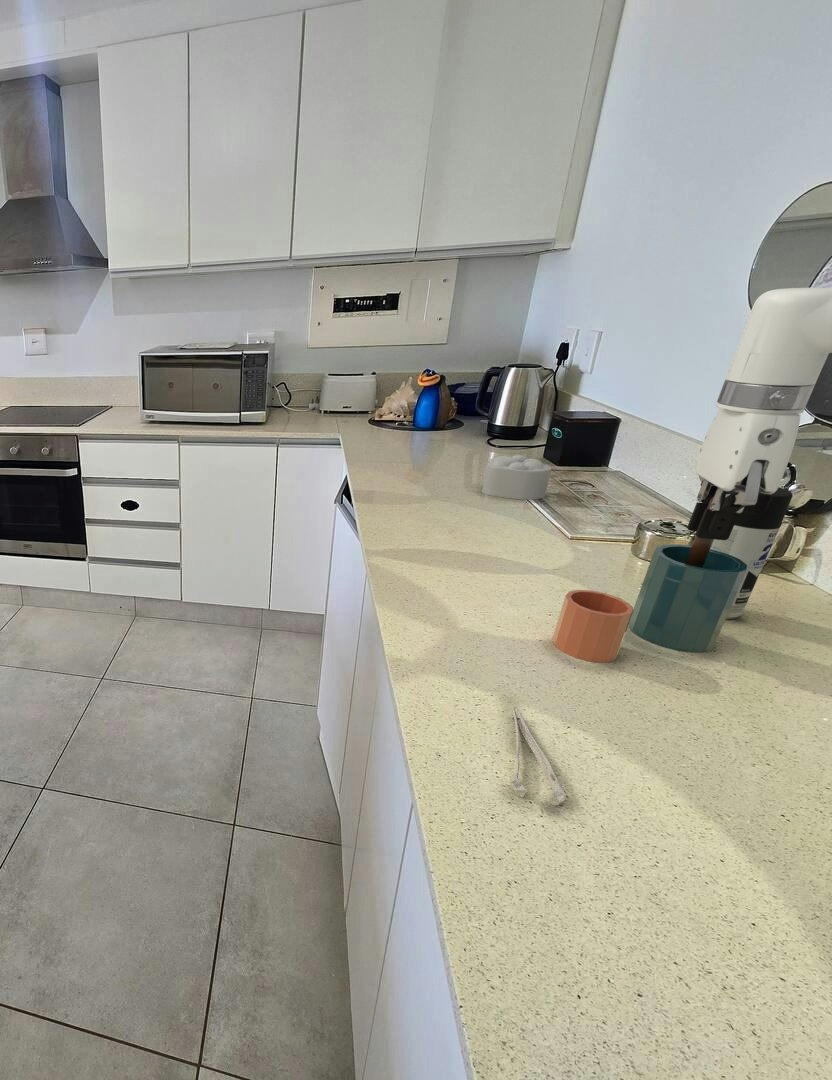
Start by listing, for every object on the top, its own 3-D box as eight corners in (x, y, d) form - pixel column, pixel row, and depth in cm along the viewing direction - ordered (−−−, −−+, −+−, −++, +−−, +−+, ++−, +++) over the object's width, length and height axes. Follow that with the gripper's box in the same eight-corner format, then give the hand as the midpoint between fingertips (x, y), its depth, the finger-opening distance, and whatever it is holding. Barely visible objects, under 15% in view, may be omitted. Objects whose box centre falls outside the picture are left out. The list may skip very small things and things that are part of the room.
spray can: (738, 625, 86) (795, 499, 79) (677, 609, 91) (725, 489, 83) (742, 609, 90) (797, 488, 83) (684, 594, 95) (730, 478, 87)
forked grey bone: (565, 809, 58) (570, 793, 57) (509, 795, 60) (513, 779, 59) (531, 711, 73) (534, 698, 72) (487, 703, 75) (490, 690, 74)
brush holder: (605, 642, 84) (622, 594, 81) (623, 670, 78) (641, 619, 75) (546, 633, 87) (560, 586, 84) (558, 660, 81) (574, 610, 77)
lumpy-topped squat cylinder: (484, 483, 151) (491, 451, 148) (544, 490, 144) (553, 456, 141) (480, 494, 143) (488, 460, 140) (544, 502, 136) (553, 467, 133)
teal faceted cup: (694, 627, 86) (727, 548, 81) (724, 661, 79) (762, 576, 74) (618, 617, 90) (644, 541, 85) (639, 648, 82) (670, 566, 77)
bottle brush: (683, 612, 84) (733, 492, 77) (694, 624, 81) (747, 501, 74) (652, 608, 85) (698, 490, 78) (662, 620, 82) (710, 498, 75)
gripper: (848, 410, 63) (776, 562, 70) (768, 388, 76) (715, 517, 83) (755, 407, 66) (696, 554, 73) (694, 386, 79) (649, 512, 86)
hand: (706, 533), depth 78 cm, fingers closed on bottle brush
